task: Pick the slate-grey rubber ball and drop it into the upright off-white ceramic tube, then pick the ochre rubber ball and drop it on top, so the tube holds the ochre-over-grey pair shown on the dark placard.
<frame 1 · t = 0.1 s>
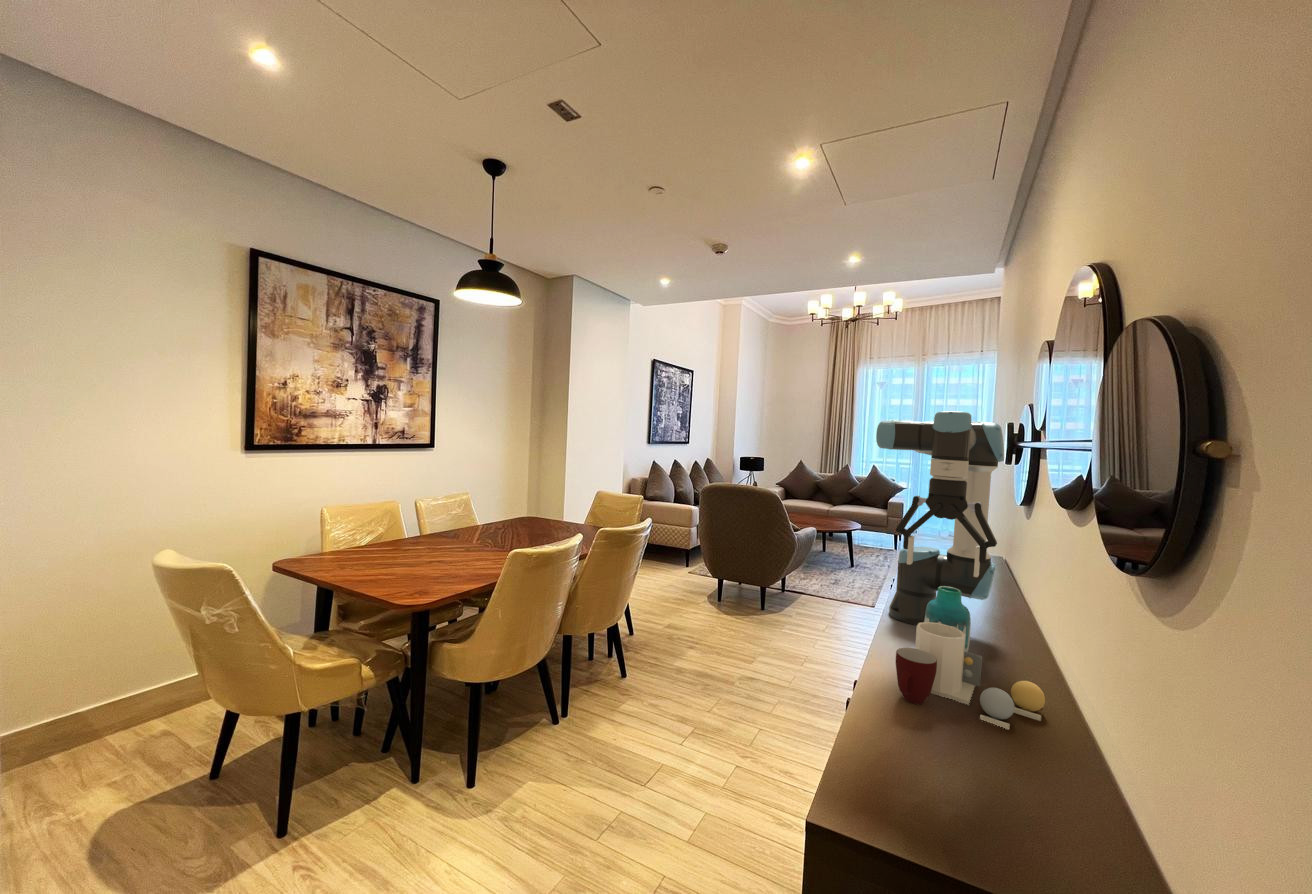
hand: (941, 569, 116), 28 cm above the table, fingers open, 13 cm apart
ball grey: (995, 717, 106), on the table
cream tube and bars: (937, 685, 119), on the table
vase: (944, 661, 133), on the table
mug: (911, 702, 110), on the table
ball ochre: (1026, 709, 110), on the table
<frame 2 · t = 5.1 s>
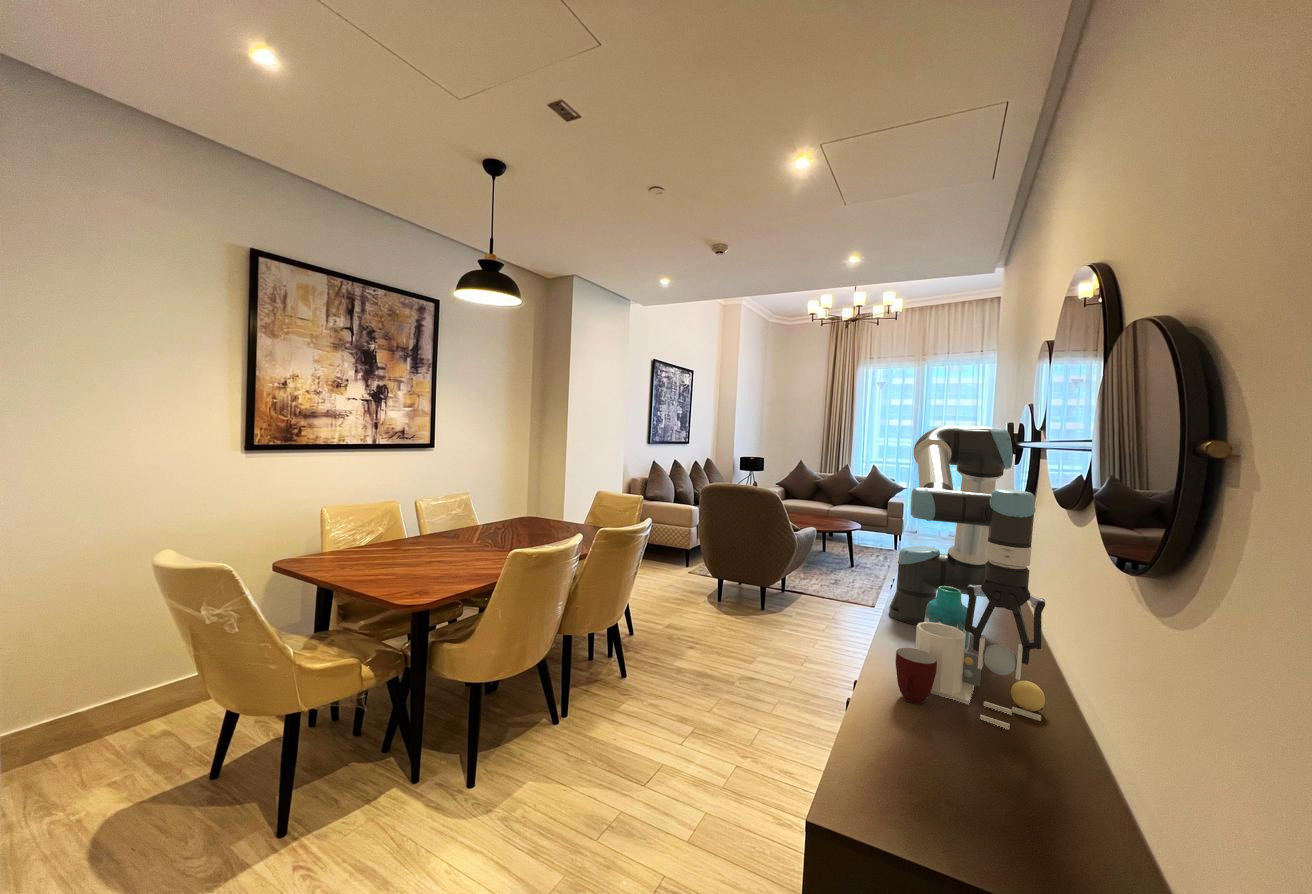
hand: (998, 671, 106), 10 cm above the table, fingers closed on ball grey, 6 cm apart
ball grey: (998, 673, 106), point 9 cm above the table, touching gripper
everything else where it was.
when the fingers open (15 cm above the table, at t = 6.9 s): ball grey drops 14 cm, resting on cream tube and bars.
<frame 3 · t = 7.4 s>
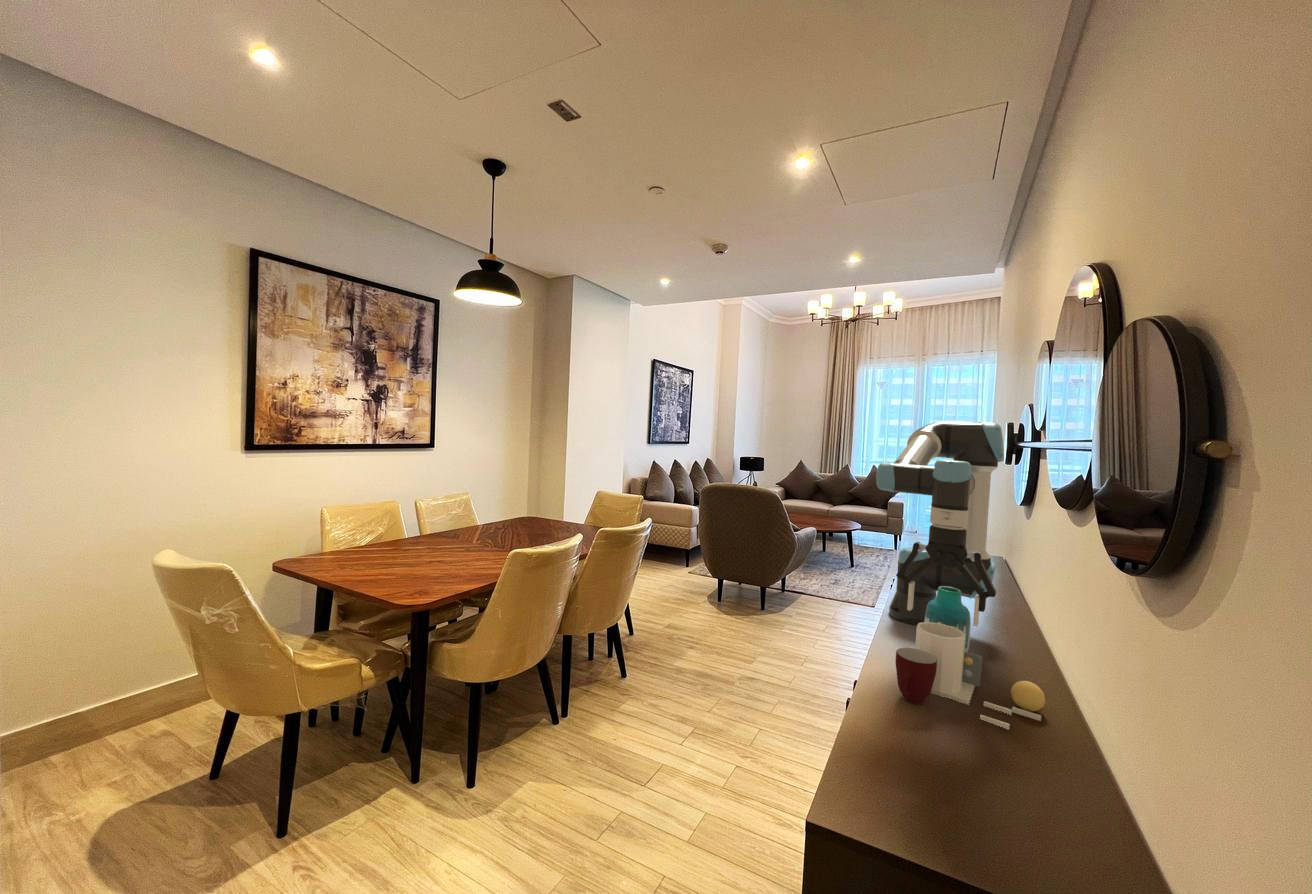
hand: (941, 616, 117), 17 cm above the table, fingers open, 13 cm apart
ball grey: (936, 682, 118), point 1 cm above the table, touching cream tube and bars
everything else where it was.
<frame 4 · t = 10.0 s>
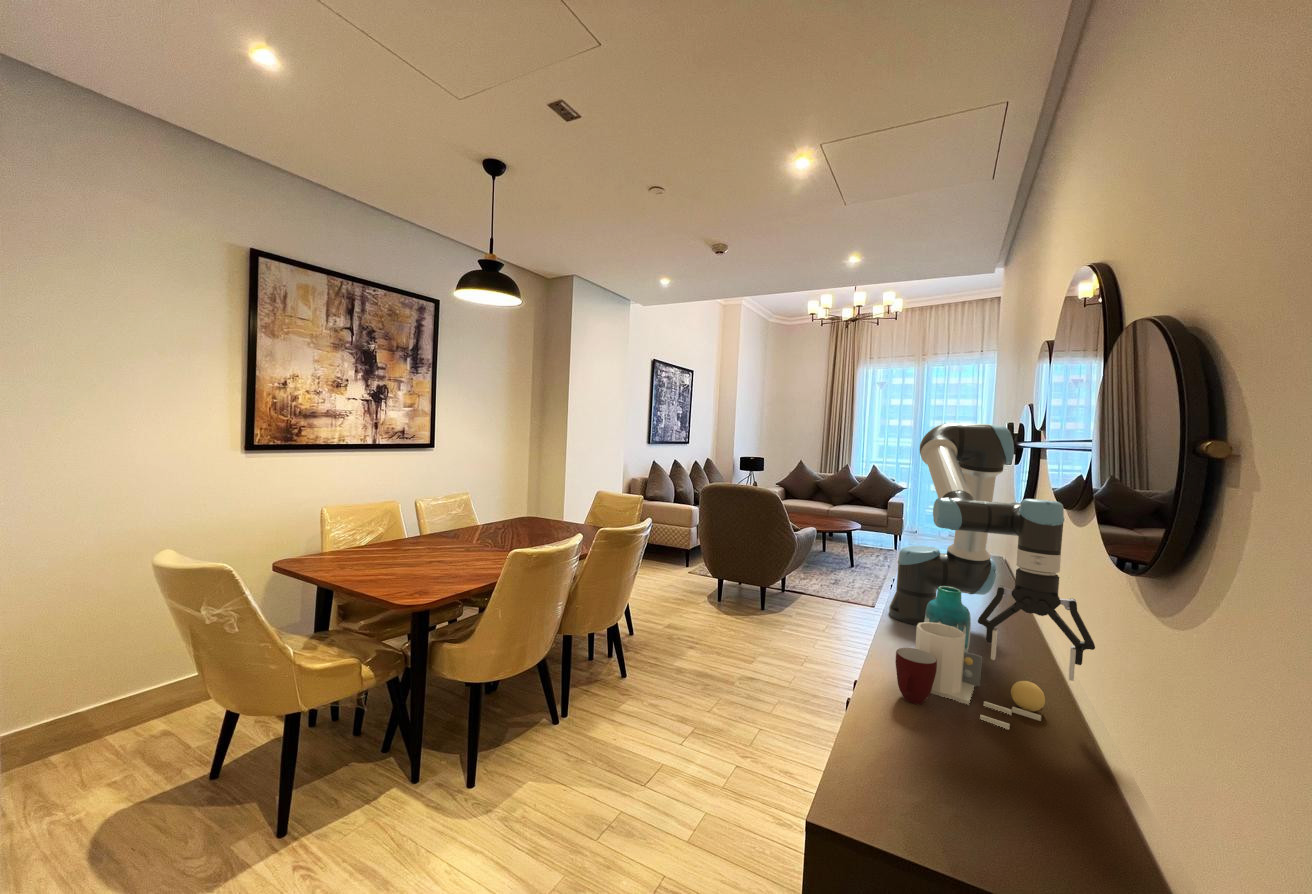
hand: (1030, 667, 109), 9 cm above the table, fingers open, 13 cm apart
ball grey: (936, 682, 118), point 1 cm above the table, tilted 11°, touching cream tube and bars
everything else where it was.
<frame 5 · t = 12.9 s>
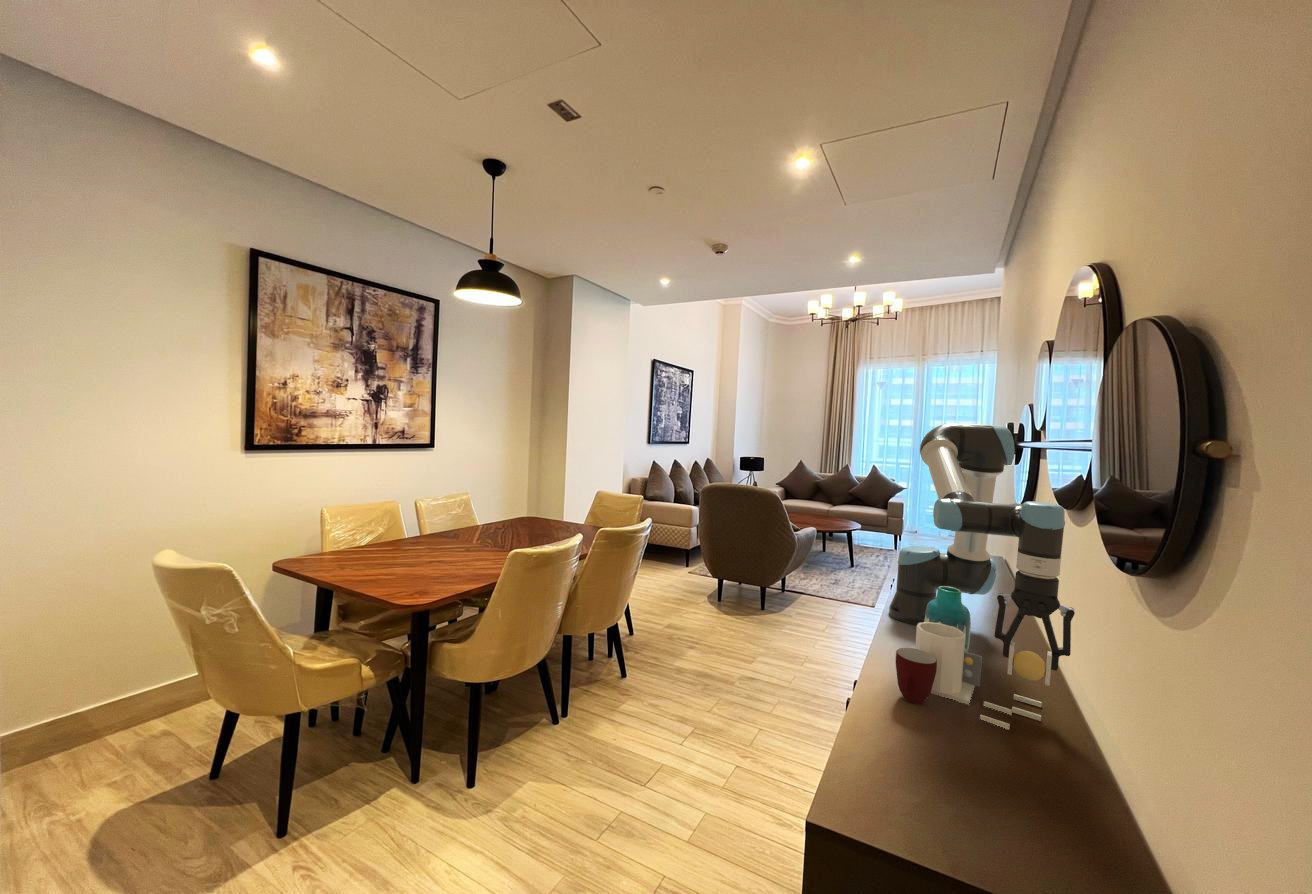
hand: (1028, 677, 110), 7 cm above the table, fingers closed on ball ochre, 6 cm apart
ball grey: (936, 681, 118), point 1 cm above the table, tilted 21°, touching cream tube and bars
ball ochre: (1028, 678, 110), point 6 cm above the table, touching gripper
everything else where it was.
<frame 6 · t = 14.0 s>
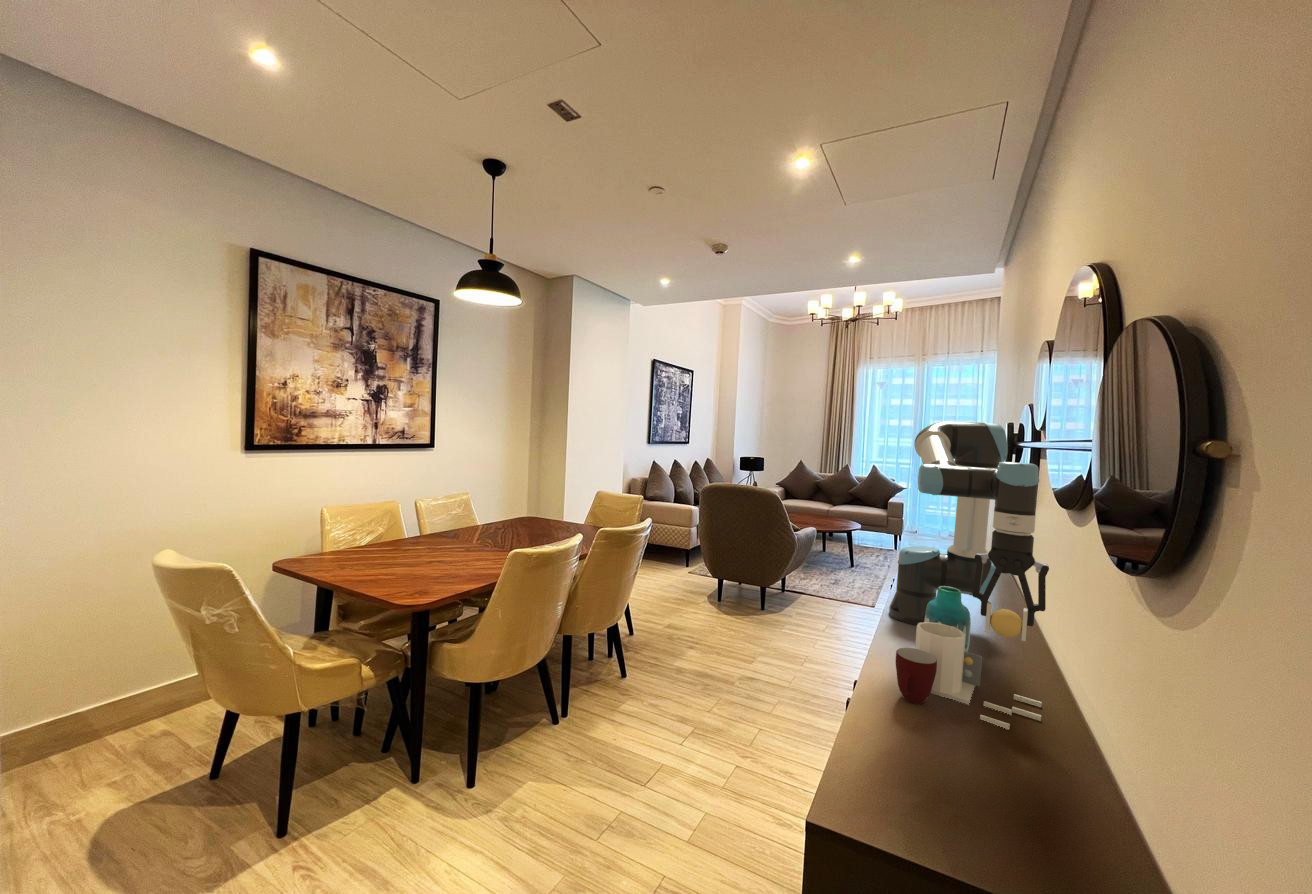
hand: (1005, 634, 112), 15 cm above the table, fingers closed on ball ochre, 6 cm apart
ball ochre: (1005, 636, 112), point 15 cm above the table, touching gripper
everything else where it was.
when the fingers open (15 cm above the table, at t = 15.1 s): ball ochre drops 8 cm and tips over, resting on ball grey, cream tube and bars.
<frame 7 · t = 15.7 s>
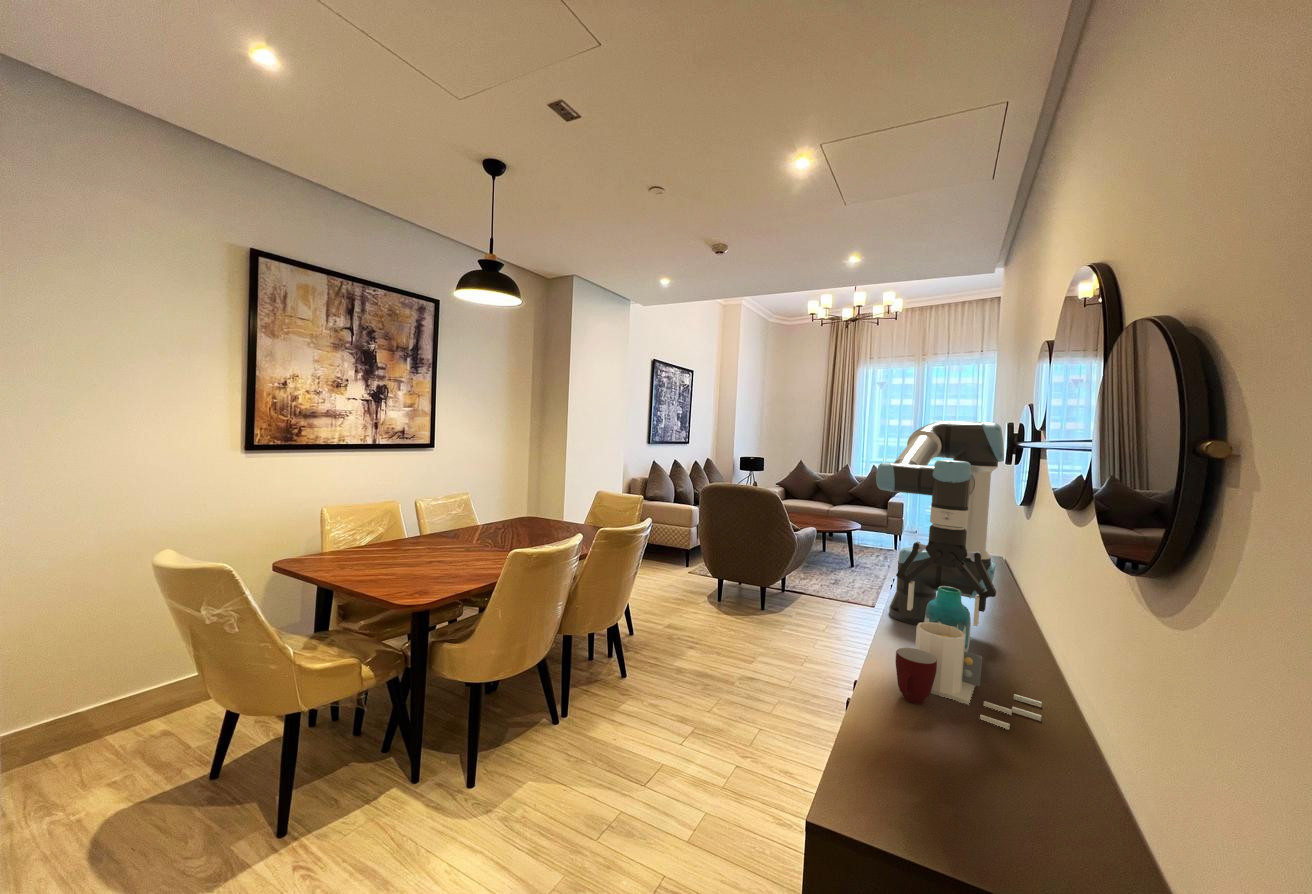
hand: (941, 616, 117), 17 cm above the table, fingers open, 13 cm apart
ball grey: (936, 681, 118), point 1 cm above the table, tilted 24°, touching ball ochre, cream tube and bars
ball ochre: (937, 657, 118), point 7 cm above the table, tilted 32°, touching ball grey, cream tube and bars
everything else where it was.
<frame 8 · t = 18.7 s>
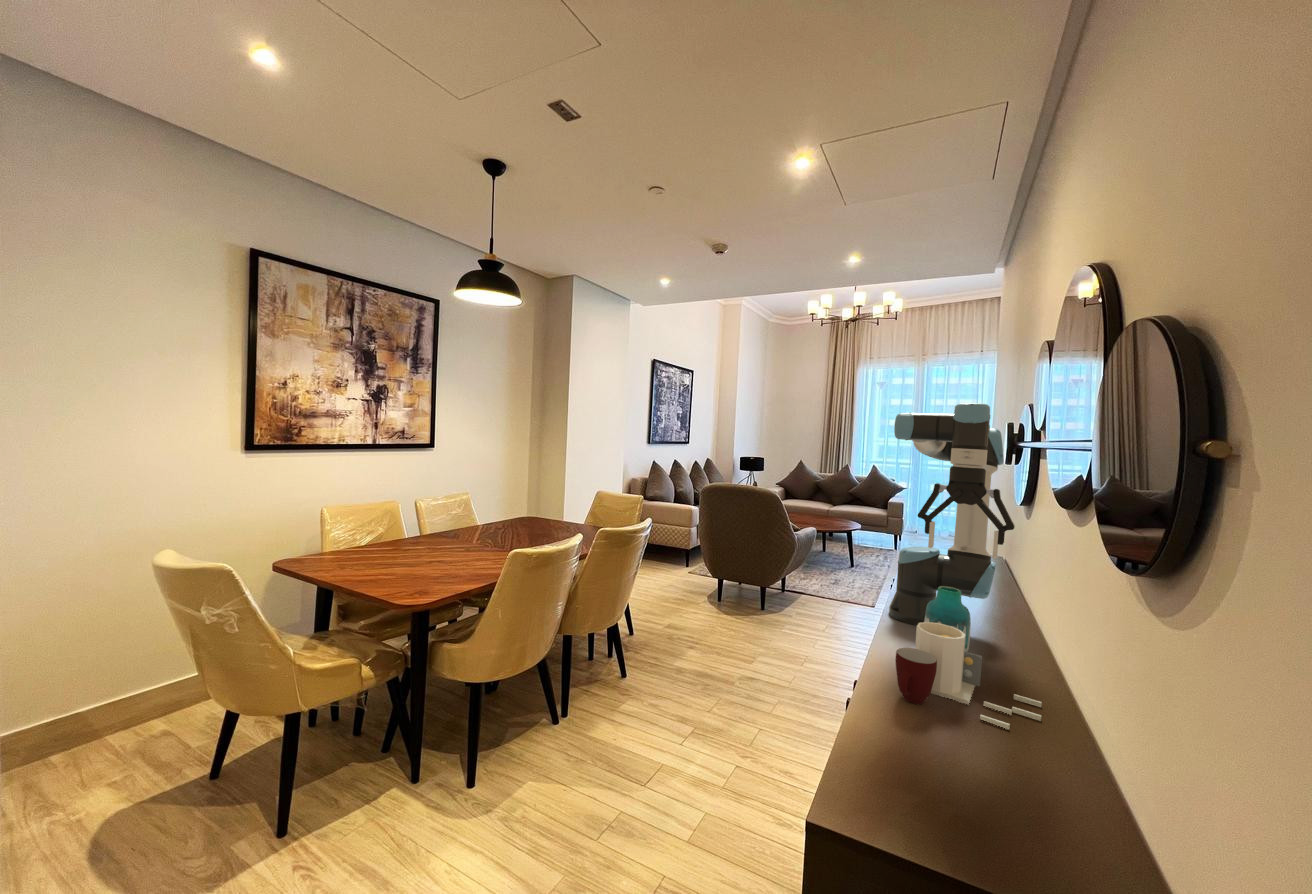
hand: (961, 552, 124), 31 cm above the table, fingers open, 13 cm apart
nothing on the table moved.
at the end: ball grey 0.1 cm from the target spot on the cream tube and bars, point 1.3 cm above the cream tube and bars's base; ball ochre 0.3 cm from the target spot on the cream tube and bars, point 6.9 cm above the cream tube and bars's base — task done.
